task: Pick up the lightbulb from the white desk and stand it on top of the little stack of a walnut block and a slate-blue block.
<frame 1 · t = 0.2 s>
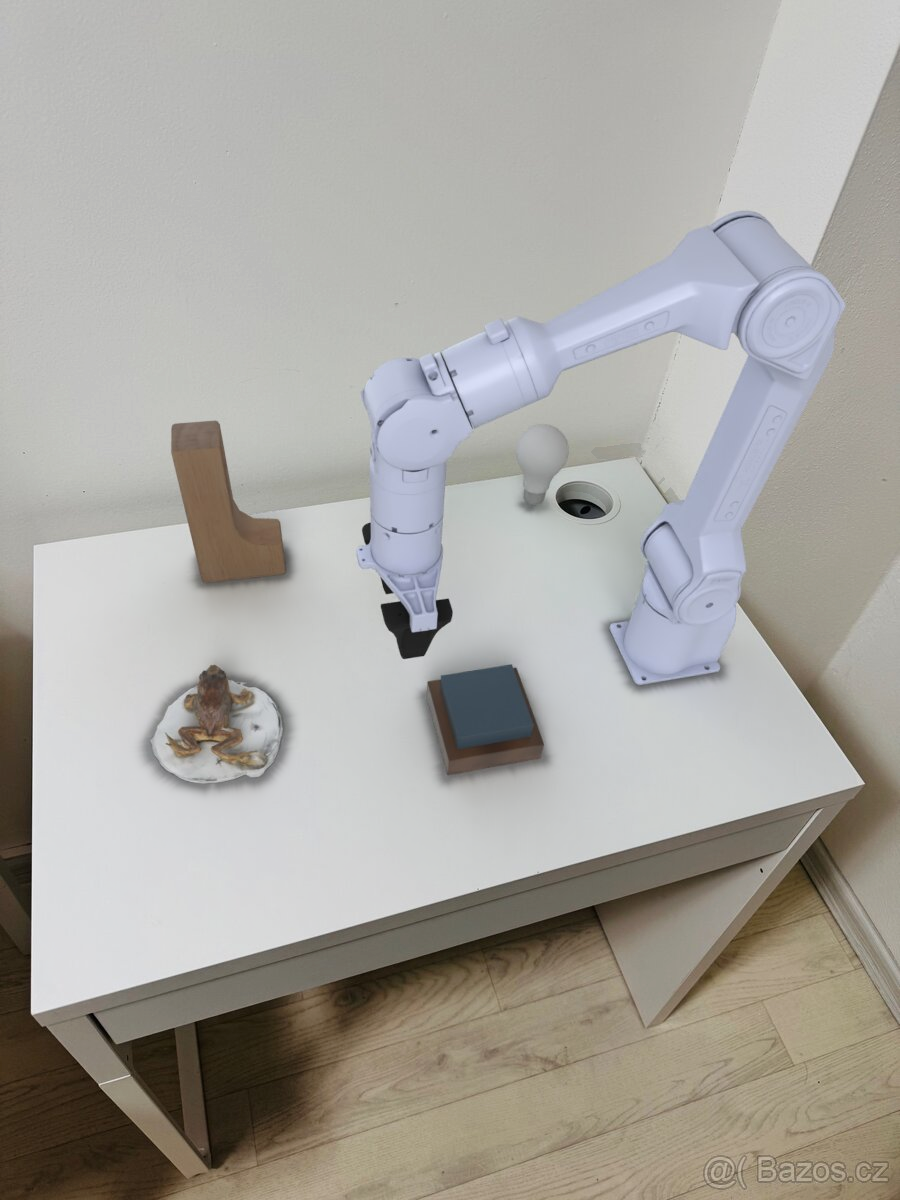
hand: (404, 621, 75), 10 cm above the table, tool pointing down, fingers open, 7 cm apart
base block: (482, 726, 80), on the table, touching top block
wooden block: (243, 566, 93), on the table
lightbulb: (532, 503, 102), on the table
top block: (484, 711, 78), point 2 cm above the table, touching base block
frog figurine: (217, 731, 78), on the table
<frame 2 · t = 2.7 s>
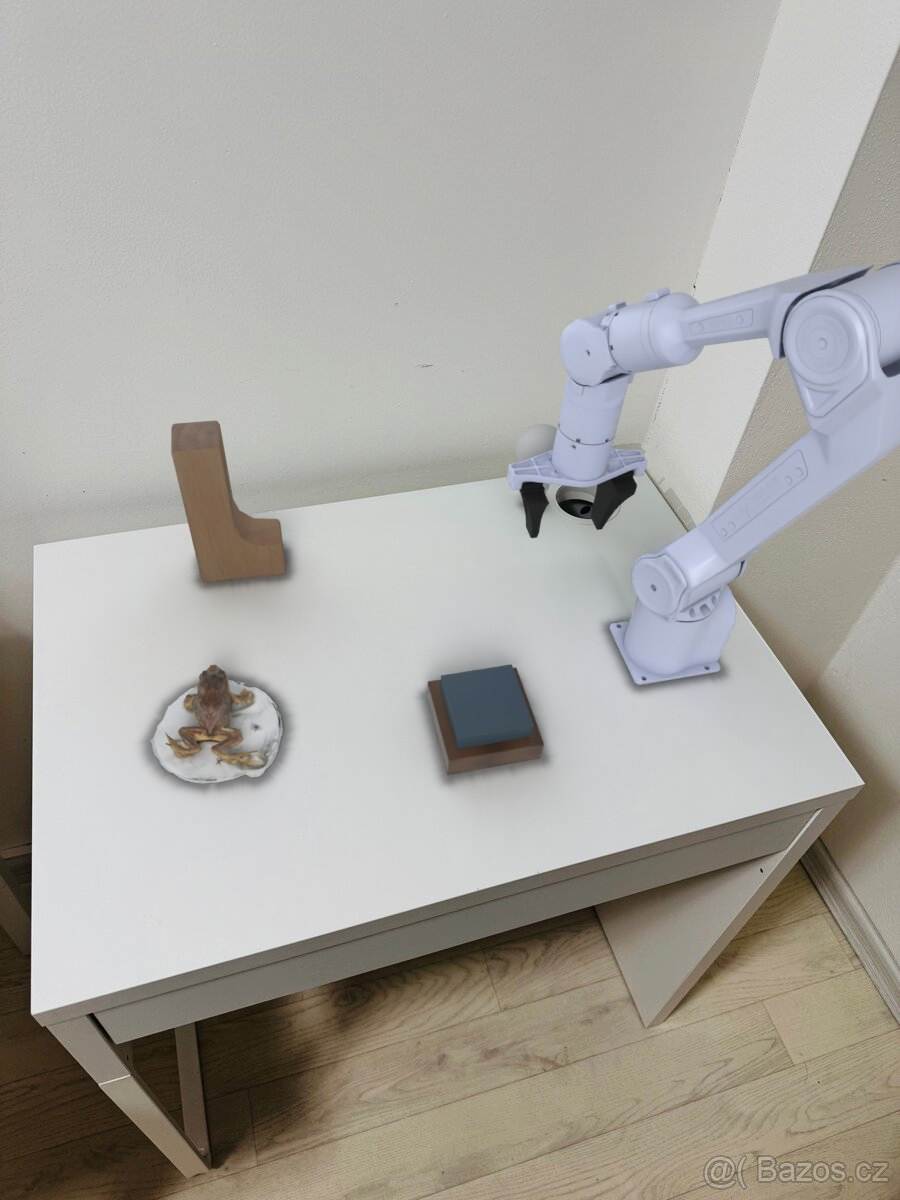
hand: (564, 527, 93), 5 cm above the table, tool pointing down, fingers open, 7 cm apart
nothing on the table moved.
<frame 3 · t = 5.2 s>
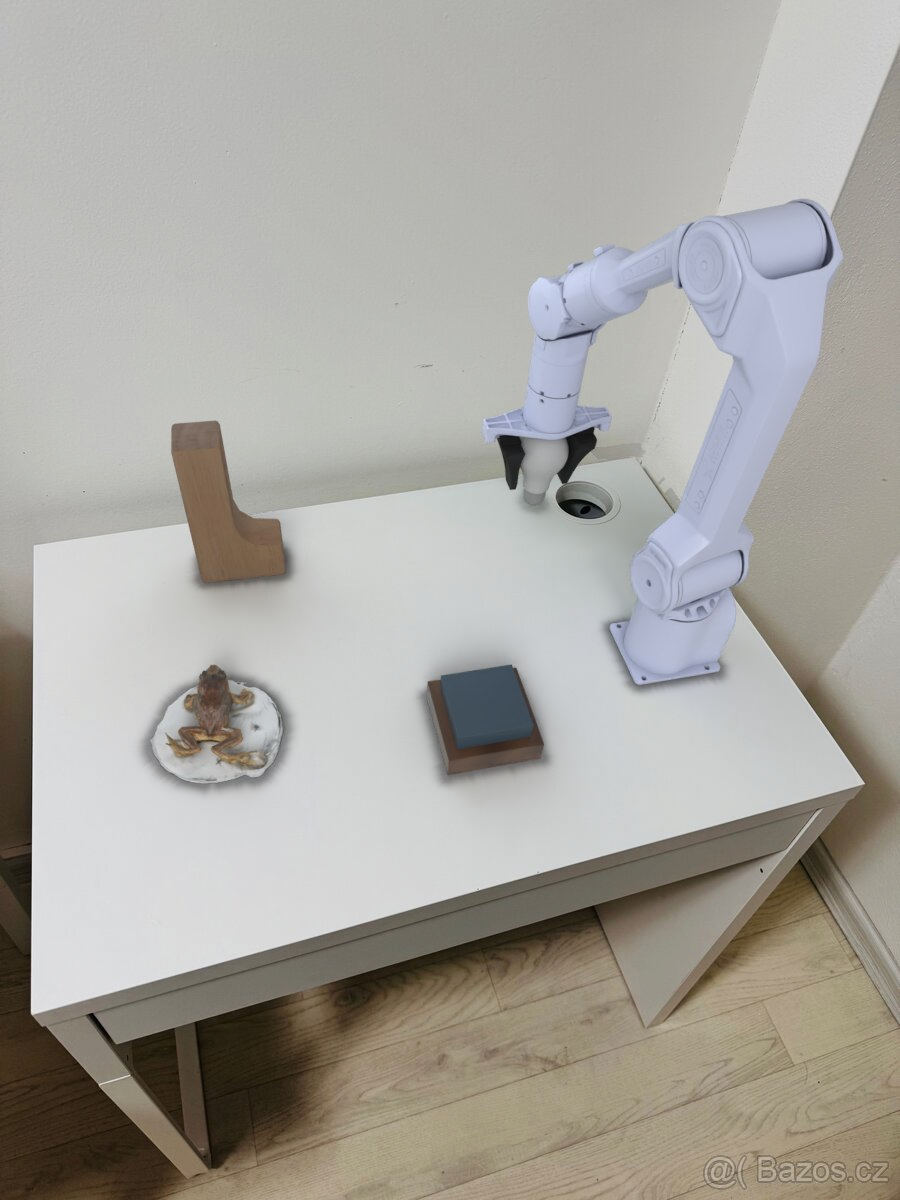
hand: (536, 481, 100), 3 cm above the table, tool pointing down, fingers closed on lightbulb, 6 cm apart
lightbulb: (532, 503, 102), on the table, touching gripper
everything else where it was.
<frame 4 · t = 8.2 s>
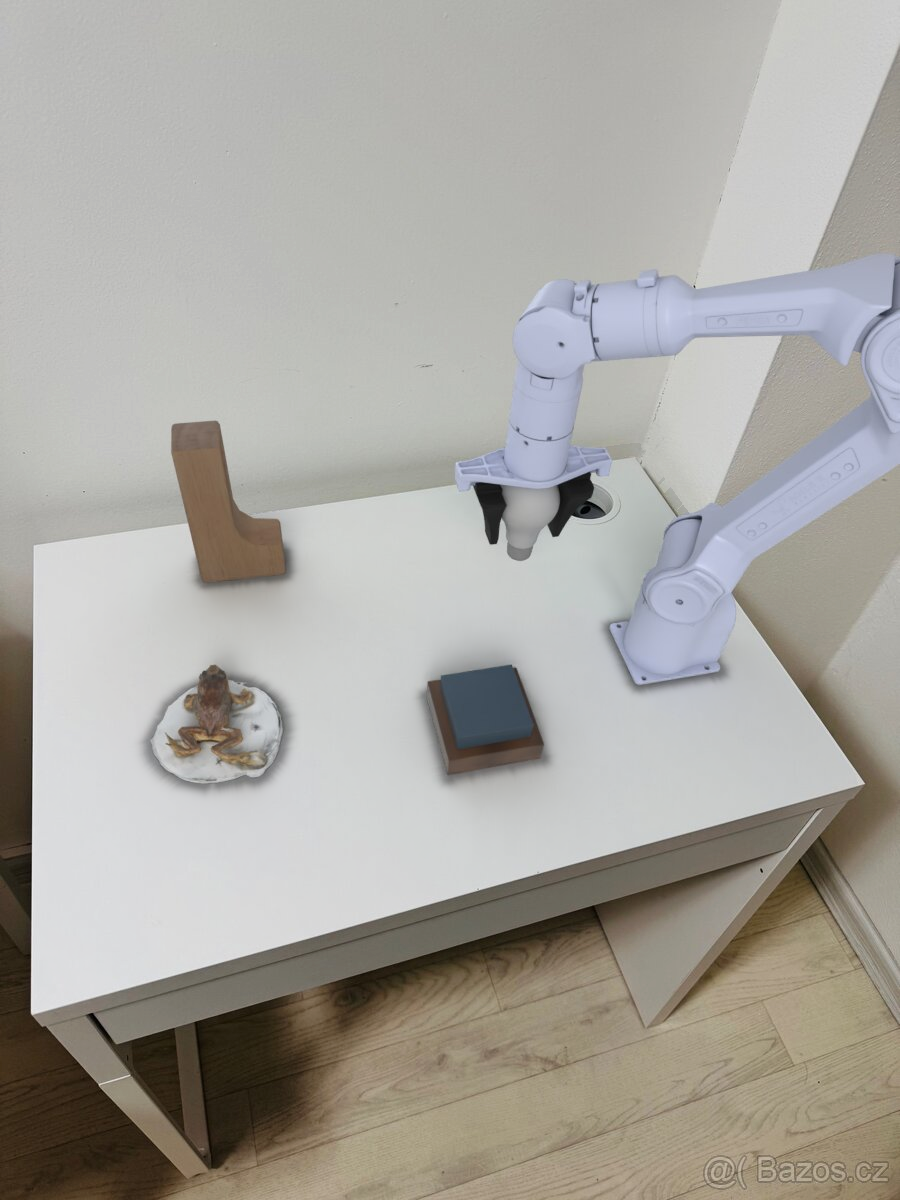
hand: (522, 533, 83), 10 cm above the table, tool pointing down, fingers closed on lightbulb, 6 cm apart
lightbulb: (517, 558, 86), point 7 cm above the table, touching gripper
everything else where it was.
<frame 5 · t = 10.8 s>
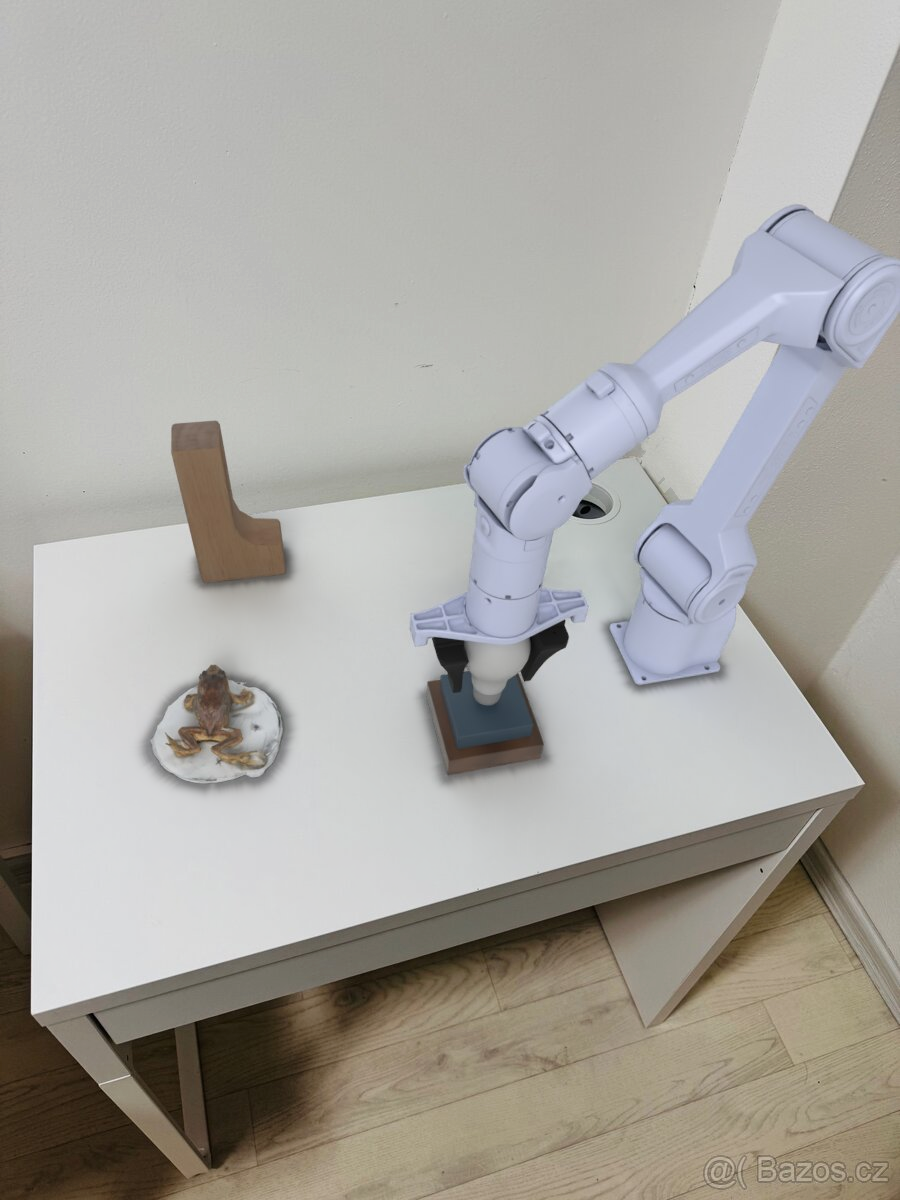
hand: (489, 677, 74), 8 cm above the table, tool pointing down, fingers closed on lightbulb, 6 cm apart
lightbulb: (485, 700, 77), point 4 cm above the table, touching gripper, top block
top block: (484, 711, 78), point 2 cm above the table, touching base block, lightbulb
everything else where it was.
when the fingers open (8 cm above the table, at t = 11.0 s): lightbulb stays where it is, resting on top block.
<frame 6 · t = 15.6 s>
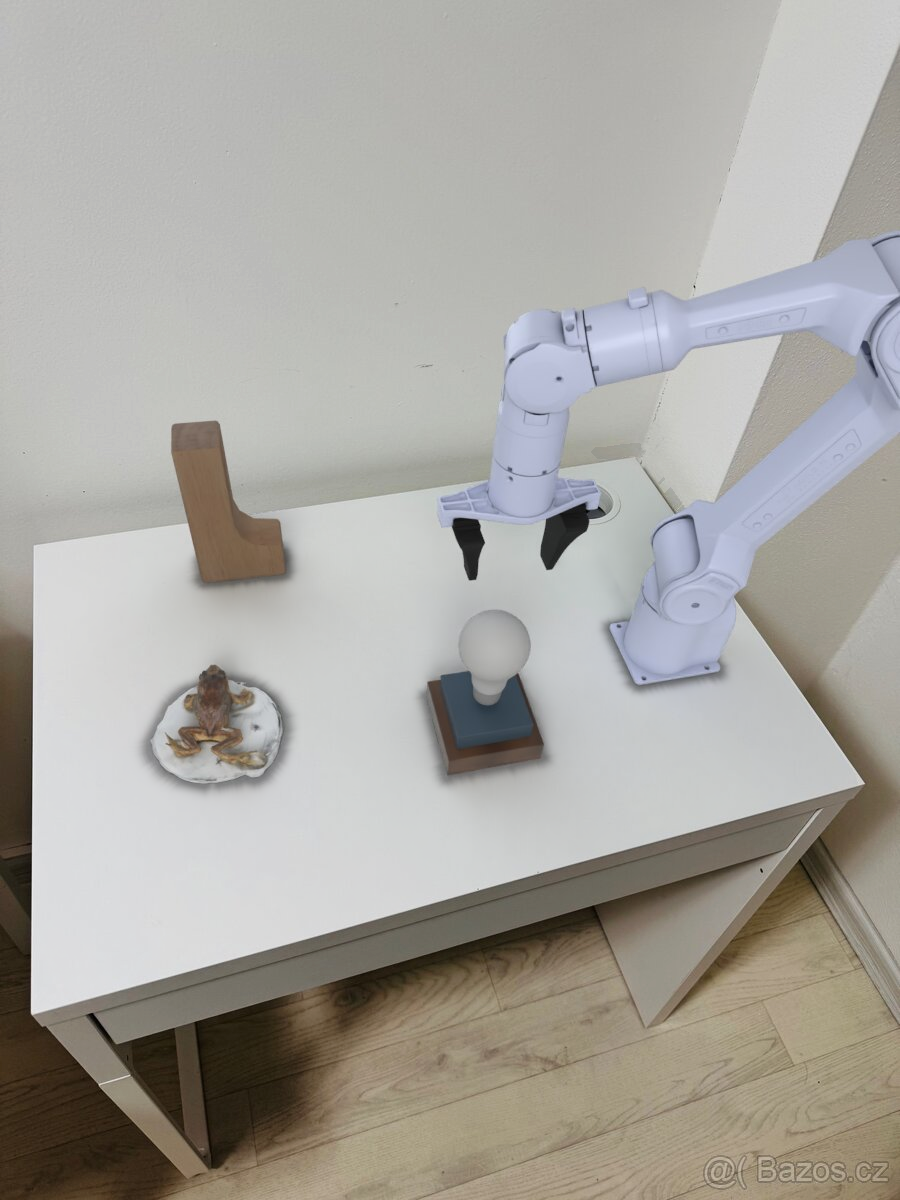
hand: (508, 567, 80), 10 cm above the table, tool pointing down, fingers open, 7 cm apart
lightbulb: (485, 700, 77), point 4 cm above the table, touching top block
everything else where it was.
at the end: lightbulb 0.0 cm off-centre on the top block, point 1.8 cm above the top block's base; lightbulb tilted 0°; the gripper is holding nothing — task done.
